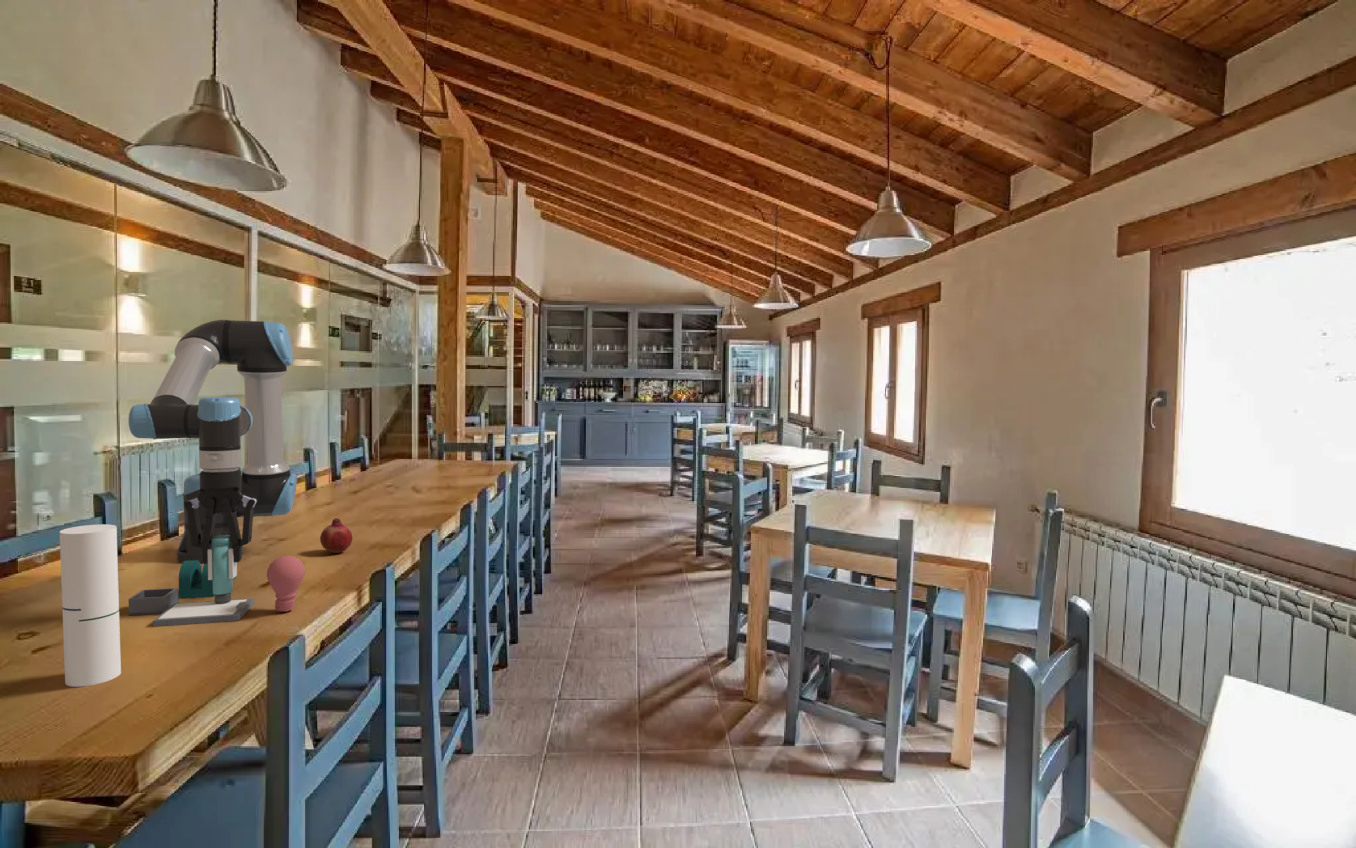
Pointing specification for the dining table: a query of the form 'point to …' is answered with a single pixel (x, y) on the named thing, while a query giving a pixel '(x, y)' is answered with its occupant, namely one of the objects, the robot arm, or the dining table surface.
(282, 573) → the light bulb
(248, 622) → the dining table surface
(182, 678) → the dining table surface
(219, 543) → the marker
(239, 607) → the clipboard
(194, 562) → the bracket
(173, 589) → the pen holder
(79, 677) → the cylindrical container
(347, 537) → the fruit
